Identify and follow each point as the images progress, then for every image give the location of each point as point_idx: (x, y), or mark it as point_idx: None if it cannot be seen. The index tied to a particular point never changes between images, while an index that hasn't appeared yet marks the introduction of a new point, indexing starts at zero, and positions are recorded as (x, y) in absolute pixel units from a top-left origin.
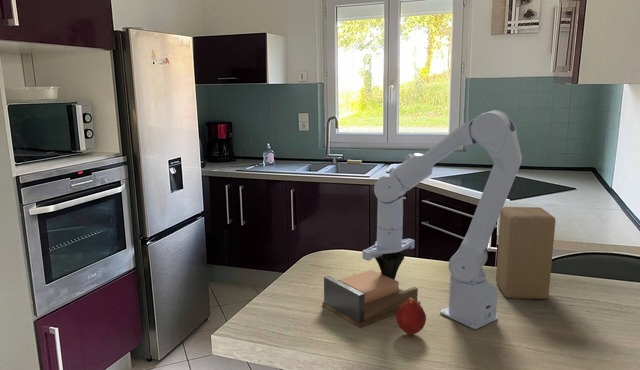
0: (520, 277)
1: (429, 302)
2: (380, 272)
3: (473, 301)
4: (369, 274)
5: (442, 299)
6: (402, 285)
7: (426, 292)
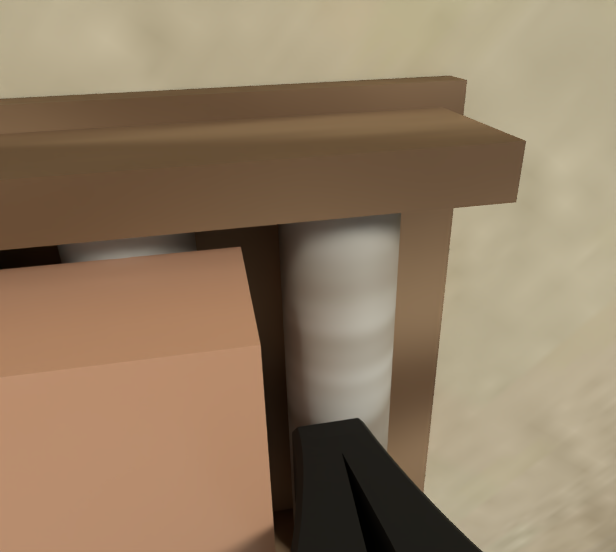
0: None
1: (484, 490)
2: (511, 148)
3: None
4: (87, 488)
5: (575, 486)
6: (611, 184)
7: (607, 377)
